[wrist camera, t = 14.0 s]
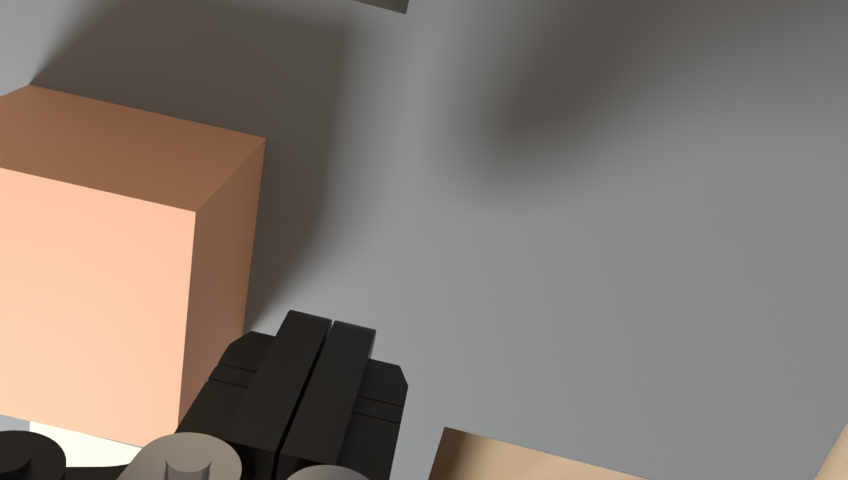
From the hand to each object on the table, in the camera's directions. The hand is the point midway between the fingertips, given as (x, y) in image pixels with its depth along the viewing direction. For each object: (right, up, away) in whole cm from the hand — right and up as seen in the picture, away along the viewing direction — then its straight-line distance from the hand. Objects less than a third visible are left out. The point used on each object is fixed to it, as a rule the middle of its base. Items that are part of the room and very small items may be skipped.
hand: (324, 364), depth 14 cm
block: (-4, +3, +4) cm, 6 cm away
